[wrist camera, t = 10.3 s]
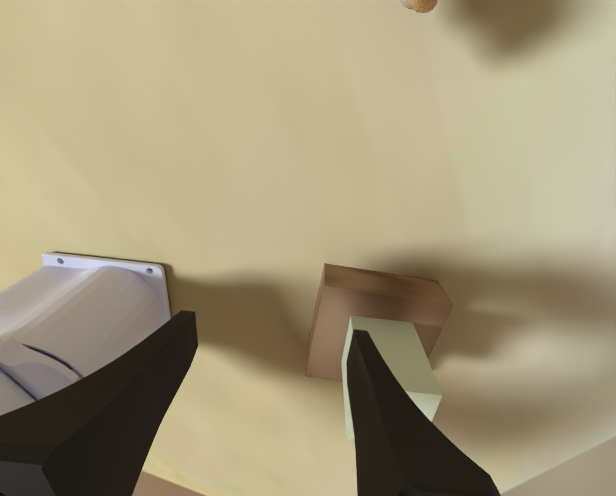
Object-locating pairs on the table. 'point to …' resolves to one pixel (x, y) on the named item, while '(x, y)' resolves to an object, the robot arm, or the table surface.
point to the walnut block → (369, 311)
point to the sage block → (396, 363)
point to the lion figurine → (420, 5)
